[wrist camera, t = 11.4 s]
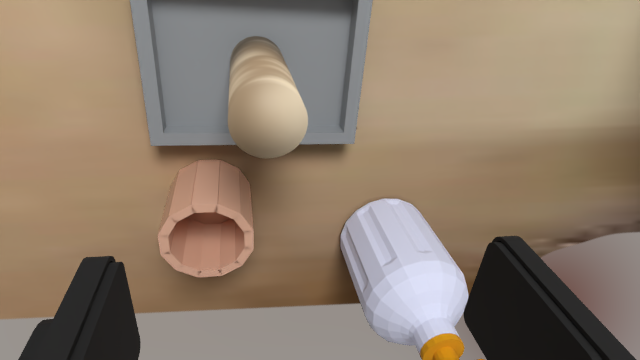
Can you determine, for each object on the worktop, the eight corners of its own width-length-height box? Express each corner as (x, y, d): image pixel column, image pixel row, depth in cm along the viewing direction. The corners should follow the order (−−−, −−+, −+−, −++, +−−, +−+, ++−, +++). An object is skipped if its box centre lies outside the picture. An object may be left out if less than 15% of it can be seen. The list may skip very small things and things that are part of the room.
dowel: (284, 37, 30) (310, 84, 20) (282, 90, 32) (305, 157, 22) (229, 34, 29) (226, 82, 19) (230, 89, 31) (229, 158, 21)
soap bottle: (322, 228, 41) (418, 525, 20) (400, 180, 40) (587, 443, 19) (363, 277, 45) (475, 561, 25) (434, 236, 44) (614, 496, 23)
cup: (249, 159, 35) (253, 202, 29) (250, 222, 39) (253, 273, 33) (167, 160, 34) (153, 206, 28) (175, 226, 37) (164, 279, 31)
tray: (364, -18, 30) (374, -15, 28) (346, 131, 36) (354, 143, 34) (133, -35, 27) (125, -33, 25) (156, 132, 33) (150, 145, 30)
